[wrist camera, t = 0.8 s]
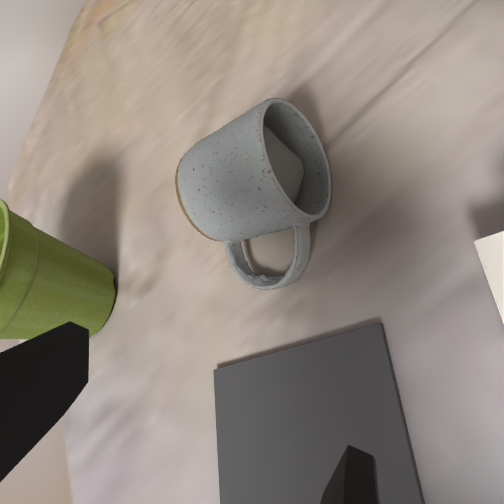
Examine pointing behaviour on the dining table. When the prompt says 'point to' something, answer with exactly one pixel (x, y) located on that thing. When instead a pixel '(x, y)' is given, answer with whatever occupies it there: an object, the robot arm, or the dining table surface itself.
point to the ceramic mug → (257, 185)
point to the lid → (493, 265)
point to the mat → (312, 421)
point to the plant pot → (47, 282)
